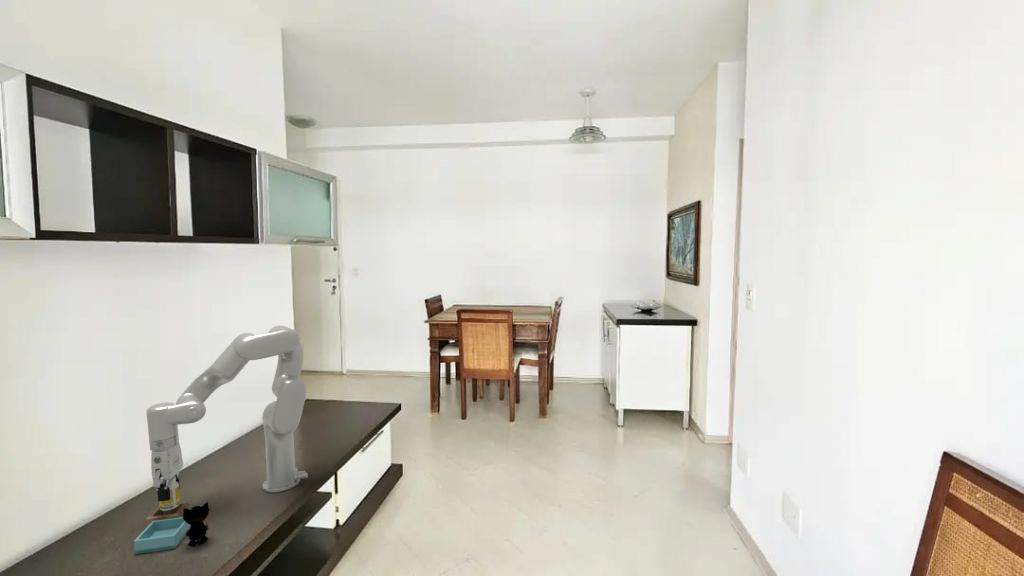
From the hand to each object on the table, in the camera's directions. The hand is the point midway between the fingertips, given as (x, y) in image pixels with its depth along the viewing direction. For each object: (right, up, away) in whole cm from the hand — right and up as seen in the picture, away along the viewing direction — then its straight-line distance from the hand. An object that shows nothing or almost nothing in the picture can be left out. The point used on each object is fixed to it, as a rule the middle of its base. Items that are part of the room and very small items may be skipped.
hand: (169, 494), depth 147 cm
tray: (+6, -9, -10) cm, 15 cm away
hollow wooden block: (0, -8, 0) cm, 8 cm away
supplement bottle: (0, -4, 0) cm, 4 cm away
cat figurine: (+18, -9, -12) cm, 23 cm away
